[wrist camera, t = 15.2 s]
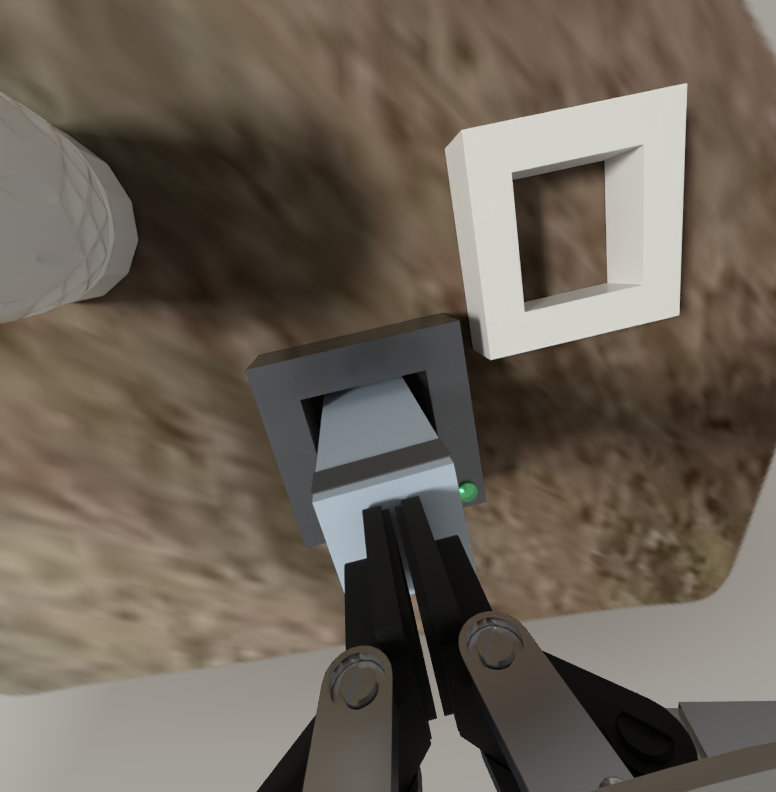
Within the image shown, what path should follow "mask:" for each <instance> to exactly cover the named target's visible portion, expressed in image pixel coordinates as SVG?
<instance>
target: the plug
mask: <svg viewBox="0 0 776 792" xmlns="http://www.w3.org/2000/svg"><path fill="white" fill-rule="evenodd" d="M311 496H312V498H313V500H312V504H313V506H314V509H315V512H316V515H317V518H318V520H319V523H320V526H321V529H322V532H323V534H324V537H325V540H326V543H327V545H328V548H329V551H330V554H331V557H332V559H333V562H334V565H335V568H336V571H337V573H338V576H339V579H340V582H341V585H342V587H343V590H344V593H345V584H344V565H345V564H346V563H350V562H354V561H357V560H361V559H365V558H367V555H366V545H365V535H364V525H363V515H362V510H363V509H367V508H371V507H375V506H379V505H380V506H381V509H382V510H384V509H388V508H389V511H390V515H391V519H392V523H393V528H394V532H395V536H396V540H397V544H398V548H399V552H400V556H401V560H402V564H403V568H404V572H405V576H406V580H407V585H408V589H409V593H410V594H414V593H415V590H414V586H413V582H412V578H411V574H410V569H409V565H408V561H407V557H406V553H405V548H404V544H403V540H402V536H401V532H400V527H399V523H398V519H397V515H396V511H395V507H396V506H400V505H401V500H403V499H407V498H410V497H414V496H419V498H420V501H421V503H422V506H423V509H424V512H425V515H426V517H427V520H428V523H429V526H430V529H431V531H432V534H433V537H434V540H438V539H442V538H446V537H450V536H454V535H458V536H459V538H460V540H461V543H462V545H463V547H464V549H465V551H466V554H467V556H468V558H469V560H470V563H471V565H472V567H473V569H474V571H475V574H476V575H477V573H476V568H475V563H474V558H473V554H472V549H471V544H470V539H469V535H468V530H467V525H466V520H465V515H464V511H463V506H462V501H461V496H460V492H459V487H458V482H457V477H456V472H455V468H454V463H453V461H452V457H451V454H450V452H449V451H448V449H447V447H446V446H445V444H444V442H443V441H442V439H441V438H438V436H437V435H436V433H435V431H434V430H433V428H432V426H431V425H430V423H429V421H428V420H427V418H426V416H425V415H424V413H423V411H422V410H421V408H420V406H419V405H418V403H417V401H416V399H415V398H414V396H413V394H412V393H411V391H410V389H409V388H408V386H407V384H406V383H405V381H404V379H403V378H402V376H399V377H395V378H391V379H387V380H382V381H378V382H374V383H370V384H365V385H361V386H357V387H353V388H349V389H344V390H340V391H336V392H332V393H328V394H324V400H323V409H322V418H321V427H320V436H319V445H318V454H317V464H316V472H315V473H313V480H312V488H311Z"/></svg>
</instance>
